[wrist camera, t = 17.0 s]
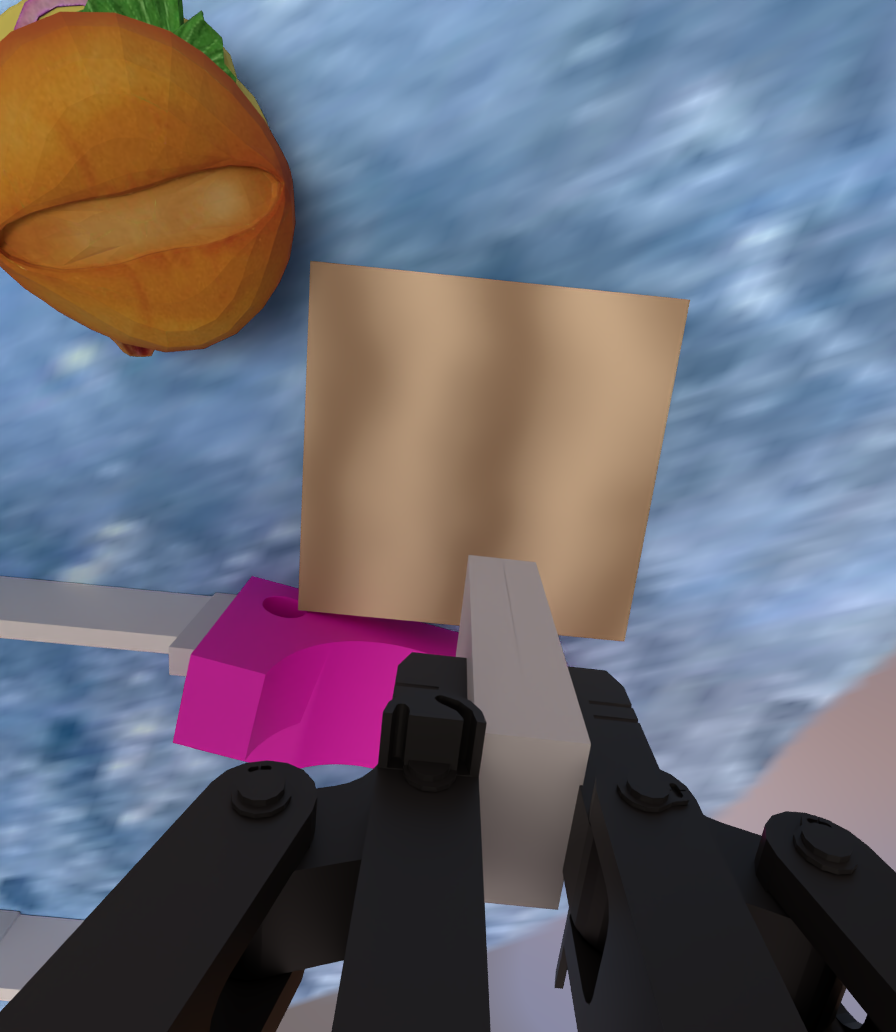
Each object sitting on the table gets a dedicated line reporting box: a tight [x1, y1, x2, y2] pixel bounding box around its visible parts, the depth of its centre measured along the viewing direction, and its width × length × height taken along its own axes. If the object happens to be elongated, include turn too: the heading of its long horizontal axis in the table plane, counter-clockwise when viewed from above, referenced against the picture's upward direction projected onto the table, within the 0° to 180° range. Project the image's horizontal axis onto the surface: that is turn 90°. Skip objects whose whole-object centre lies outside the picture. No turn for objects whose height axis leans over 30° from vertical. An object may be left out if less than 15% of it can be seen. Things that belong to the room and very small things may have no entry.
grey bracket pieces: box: [0, 576, 237, 1001], centre depth 31 cm, size 13×21×5 cm, turn 174°
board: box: [298, 261, 690, 641], centre depth 28 cm, size 14×14×2 cm
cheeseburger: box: [0, 0, 295, 357], centre depth 22 cm, size 10×11×10 cm
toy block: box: [173, 576, 568, 769], centre depth 29 cm, size 15×6×8 cm, turn 74°
